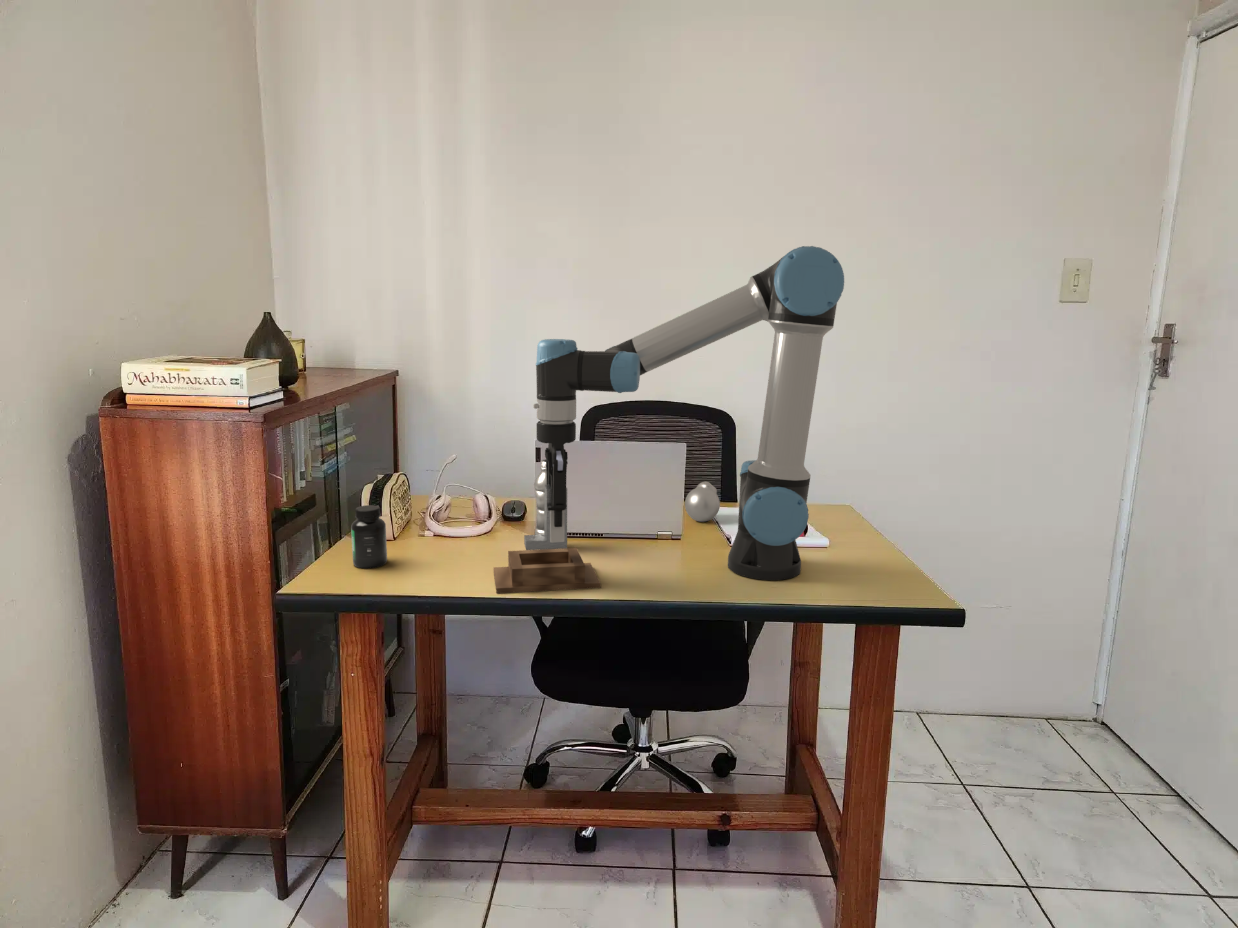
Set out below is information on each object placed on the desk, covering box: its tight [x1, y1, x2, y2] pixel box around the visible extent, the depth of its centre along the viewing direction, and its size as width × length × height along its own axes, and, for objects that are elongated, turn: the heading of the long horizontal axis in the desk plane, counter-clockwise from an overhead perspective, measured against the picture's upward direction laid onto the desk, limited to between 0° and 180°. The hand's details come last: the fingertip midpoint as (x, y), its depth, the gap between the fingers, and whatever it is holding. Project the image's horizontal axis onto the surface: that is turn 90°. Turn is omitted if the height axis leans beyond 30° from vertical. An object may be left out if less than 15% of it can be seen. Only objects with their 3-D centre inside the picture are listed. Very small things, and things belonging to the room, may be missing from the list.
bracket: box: [523, 484, 568, 550], centre depth 156 cm, size 8×4×12 cm, turn 101°
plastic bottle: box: [533, 458, 547, 535], centre depth 176 cm, size 6×7×20 cm
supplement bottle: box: [350, 504, 388, 570], centre depth 165 cm, size 7×7×12 cm
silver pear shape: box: [684, 480, 721, 523], centre depth 202 cm, size 9×10×10 cm
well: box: [492, 547, 601, 594], centre depth 158 cm, size 20×12×4 cm, turn 101°
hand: (555, 537), depth 157 cm, fingers closed on bracket, 4 cm apart
